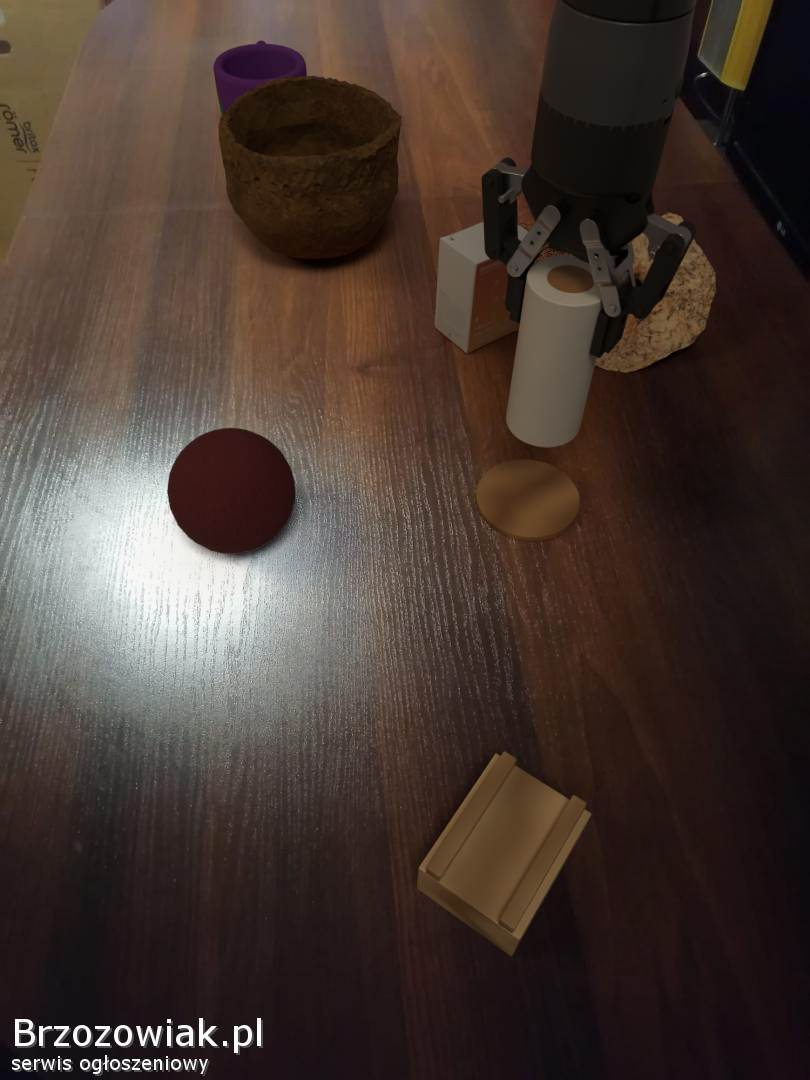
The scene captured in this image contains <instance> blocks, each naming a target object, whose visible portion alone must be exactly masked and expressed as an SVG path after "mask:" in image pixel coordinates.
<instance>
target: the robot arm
mask: <svg viewBox="0 0 810 1080" xmlns="http://www.w3.org/2000/svg"><path fill="white" fill-rule="evenodd" d="M697 1H698V0H556V1H555V6H554V9H553V13H552V16H551V19H550V24H549V27H548V32H547V36H546V42H545V48H544V55H543V62H542V70H541V77H540V86H539V92H538V99H537V108H536V112H535V113H536V114H535V121H534V128H533V135H532V143H531V150H530V160H531V163H530V165H529V168H524V167H519V166H517V163H516V162H515V160H514V159H513V158H511V157H504V158H503V159H501V160H500V161H498V162H497V163H496V164H495V165H494V166H493V167H491V168H490V169H489V170H487V171H486V172H485V173H484V174H482V176H481V179H480V180H481V181H480V182H481V201H482V202H481V203H482V220H483V221H482V222H483V224H484V245H485V253H486V255H487V256H488V257H489V258H490V259H492V260H497V259H499V260H500V261H501V262H503V263H504V264H505V265H506V269H507V272H508V273H509V275H508V283H507V292H506V298H505V306H506V310H507V311H510V317H509V319H510V320H512V321H514V322H516V323H520V320H521V313H522V306H523V299H524V293H525V286H526V279H527V273H528V271H529V269H530V268H531V266H532V265H533V264H534V263H536V262H537V260H538V259H539V258H540V257H541V256H542V254H543V253H544V252H545V250H546V249H547V248H548V249H549V250H553V251H555V252H558V253H565V254H566V253H567V254H570V255H574V256H575V257H576V258H578V259H579V260H581V261H584V262H586V263H589V264H590V267H591V272H592V277H593V281H594V284H595V285H598V286H599V288H600V293H601V298H602V302H603V307H604V308H603V309H602V310H601V311H600V312H599V316H598V320H597V324H596V328H595V333H594V337H593V341H592V345H591V350H590V354H591V355H593V356H595V357H598V358H600V357H601V356H602V355H603V354H604V353H605V352H606V353H608V354H609V353H610V351H611V350H612V349H613V348H614V347H615V346H616V345H617V343H618V342H619V341H620V340H621V339H622V336H623V331H624V328H625V325H626V321H627V317H628V314H633V316H634V317H635V318H637V319H645V318H647V316H648V315H649V314H650V313H651V311H652V309H653V308H654V307H655V306H656V305H657V304H658V303H659V302H660V301H661V300H662V299H663V297H664V296H665V294H666V292H667V290H668V288H669V286H670V284H671V282H672V280H673V278H674V276H675V274H676V272H677V270H678V268H679V266H680V264H681V262H682V260H683V258H684V256H685V254H686V252H687V250H688V248H689V247H690V245H691V243H692V241H693V239H694V240H695V237H696V235H697V228H696V226H695V224H694V223H693V222H691V221H689V220H683V222H681V223H679V225H678V226H677V225H675V224H673V223H672V222H670V221H668V220H666V219H664V218H662V217H661V215H658V214H657V213H656V206H655V203H654V197H653V191H654V187H655V183H656V179H657V176H658V172H659V168H660V164H661V160H662V157H663V153H664V149H665V145H666V141H667V138H668V133H669V129H670V126H671V122H672V118H673V115H674V111H675V107H676V103H677V100H678V99H679V97H680V94H681V92H682V88H683V83H684V79H685V78H684V73H685V68H686V66H687V65H686V64H687V59H688V55H689V50H690V44H691V36H692V28H693V22H694V16H695V10H696V4H697ZM521 195H523V196H524V199H525V201H526V203H527V206H528V207H529V210H530V211H529V212H530V213H531V215H532V217H533V220H534V223H533V225H532V226H531V228H530V229H529V231H528V233H527V235H526V236H525V237H524V239H523V240H522V242H521V241H520V240H519V239H518V225H519V224H518V223H519V221H518V220H519V219H518V217H519V216H518V214H519V213H518V199H519V198H520V197H521ZM641 233H644V234H645V235H646V236H647V238H648V241H649V245H648V253H649V254H648V257H649V258H650V259H652V260H653V262H652V264H651V266H650V269H649V271H648V273H647V275H646V277H645V279H644V281H643V283H642V285H641V287H636V283H635V278H634V272H633V263H634V251H633V245H632V241H633V240H634V239H635V238H636V237H637V236H639V235H640V234H641ZM610 256H611V257H610Z"/></svg>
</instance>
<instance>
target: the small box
mask: <svg viewBox="0 0 810 1080" xmlns="http://www.w3.org/2000/svg"><path fill="white" fill-rule="evenodd" d="M528 232H529V231H528V230H527V229H526V228H524V227H523V226H521V225H519V224H518V239H519V240H520V241H521V242H522V240H523V239H524V237H525V236H526V235H527V233H528ZM508 275H509V273H508V272H507V269H506V265H505V264H504V263H503V262H501V261H500V260H499V259H497V260H492V259H490V258H489V257H488V256H487V255H486V253H485V245H484V224H483V221H481V222H479V223H476V224H474V225H471V226H469V227H466V228H464V229H461V230H459V231H456V232H453V233H451V234H448V235H444V236H441V237H439V245H438V263H437V276H436V278H437V281H436V293H435V294H436V296H435V310H434V311H435V312H434V328H435V329H437V331H439V332H440V333H441V334H442V335H444V336H445V337H446V338H447V339H448V340H449V341H450V342H452V343H453V344H454V345H456V346H457V347H458V348H459V349H460V350H462V351H463V352H464V353H465V354H470V353H472V352H473V351H476V350H478V349H480V348H482V347H484V346H486V345H488V344H490V343H493V342H494V341H497V340H499V339H501V338H503V337H505V336H508V335H510V334H512V333H514V332H517V331H519V327H520V323H516V322H514V321H512V320H510V319H509V317H510V311H507V310H506V306H505V298H506V292H507V283H508Z"/></svg>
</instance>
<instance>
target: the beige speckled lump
mask: <svg viewBox="0 0 810 1080" xmlns="http://www.w3.org/2000/svg"><path fill="white" fill-rule="evenodd" d="M660 217H662V218H664V219H666V220H668V221H670V222H672V223H673V224H675V225H677V226H678V225H679V223H681V222H683V221H684V220H683V217H682V216H681V215H678V214H676V213H672V212H667V213H665V214H663V215H660ZM632 245H633V251H634V263H633V272H634V278H635V283H636V287H641V285H642V283H643V281H644V279H645V277H646V275H647V273H648V271H649V269H650V266H651V264H652V262H653V260H652V259H650V258H649V257H648V254H649V253H648V245H649V241H648V238H647V236H646V235H645V234H644V233H641V234H640V235H639V236H637V237H636V238H635V239H633V240H632ZM610 257H611V256H610ZM716 275H717V274H716V271H715V268H713V265H712V264H711V263H710V261H709V260H708V258H707V256H706V254H705V252H704V250H703V249H702V247H701V246H700V245H698V244H697V243H696V240H695V238H694V239H693V241H692V243H691V245H690V247H689V248H688V250H687V252H686V254H685V256H684V258H683V260H682V262H681V264H680V266H679V268H678V270H677V272H676V274H675V276H674V278H673V280H672V282H671V284H670V286H669V288H668V290H667V292H666V294H665V296H664V297H663V299H662V300H661V301H660V302H659V303H658V304H657V305H656V306H655V307H654V308H653V309H652V311H651V313H650V314H649V315H648V316H647V318H645V319H637V318H635V317H634V316H633V314H628V317H627V321H626V325H625V328H624V331H623V336H622V339H621V340H620V341H619V342H618V343H617V345H616V346H615V347H614V348H613V349H612V350H611V351H610V353H609V354H608V353H606V352H605V353H604V354H603V355H602V356H601V357H600V358H598V357H597V359H596V363H595V367H598V368H601V369H602V370H603V369H604V370H605V371H613V372H620V373H626V374H628V373H631V372H635V371H638V370H640V369H641V370H642V369H645V368H647V367H648V366H651V365H652V364H654V363H656V362H659V361H660V360H663V359H664V358H667V357H668V356H670V355H671V354H672V353H674V352H676V351H679V350H682V349H685V348H688V347H689V346H691V345H692V344H695V342H696V339H698V337H699V336H700V334H701V333H702V332H703V331H704V330H705V329H706V326H707V321H708V319H709V313H710V311H711V308H712V305H711V304H712V303H713V300H714V298H715V294H717V287H716V284H717V280H716V279H717V277H716Z"/></svg>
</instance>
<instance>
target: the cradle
mask: <svg viewBox="0 0 810 1080" xmlns="http://www.w3.org/2000/svg"><path fill="white" fill-rule="evenodd" d="M517 762H518V759H517V758H516V757H514V756H513V755H511V754H510V753H508V752H507V751H505V750H504V751H503V752H502V753H501V754H500V755H499V754H498V753H495V754H494V755H493V756H492V758H491V760H490V761H489V762H488V763H487V765H486V767H485V768H484V770H483V771H482V772H481V775H480V776H479V778H477V780H476V782H475V783H474V785H473V787H472V788H471V789H470V790H469V792H468V794H467V795H466V797H465V798H464V800H463V801H462V802H461V805H460V806H459V807H458V808H457V810H456V811H455V813H454V814H453V816H452V817H451V819H450V820H449V821H448V823H447V825H446V827H445V828H444V829H443V831H442V832H441V834H440V836H439V837H438V838H437V840H436V841H435V843H434V844H433V845H432V847H431V849H430V850H429V852H427V855H426V856H425V858H424V859H423V861H422V862H421V863H420V865H419V866H418V872H417V879H416V880H417V881H416V882H417V883H416V884H417V885H416V889H417V890H419V891H420V892H421V893H422V894H424V895H425V896H427V897H429V898H430V899H431V900H432V901H434V902H435V903H436V904H438V905H439V906H441V907H442V908H443V909H445V910H446V911H448V912H449V913H450V914H452V915H453V916H454V917H456V918H457V919H458V920H460V921H461V922H463V923H464V924H465V925H467V926H468V927H470V928H471V929H472V930H474V931H475V932H476V933H478V934H479V935H481V936H482V937H483V938H485V939H486V940H488V941H489V942H491V943H492V944H493V945H495V946H496V947H497V948H499V949H500V950H502V951H503V952H505V953H506V954H507V955H508V956H510V957H513V956H514V954H515V952H516V950H517V949H518V947H519V945H520V943H521V942H522V940H523V938H524V936H525V934H526V933H527V931H528V929H529V928H530V926H531V924H532V922H533V921H534V919H535V918H536V915H537V914H538V912H539V910H540V908H541V907H542V905H543V903H544V901H545V900H546V898H547V896H548V894H549V893H550V891H551V889H552V887H553V885H554V884H555V882H556V881H557V878H558V877H559V875H560V873H561V872H562V870H563V868H564V866H565V864H566V862H568V859H569V857H570V856H571V854H572V852H573V851H574V848H575V847H576V845H577V843H578V842H579V840H580V838H581V836H582V834H583V833H584V830H585V828H586V826H587V824H588V823H589V820H590V819H591V816H592V813H591V812H590V811H588V810H587V809H586V808H587V806H588V803H587V802H586V801H585V800H583V799H581V798H580V797H578V796H576V795H575V794H573V795H571V797H570V799H569V798H568V797H566V796H564V795H563V794H562V793H560V792H558V791H557V790H555V789H554V788H552V787H550V786H549V785H547V784H546V783H544V782H542V781H541V780H539V779H538V778H536V777H534V776H533V775H531V774H529V773H528V772H526V771H525V770H524V769H522V768H520V767H519V766H517Z"/></svg>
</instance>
